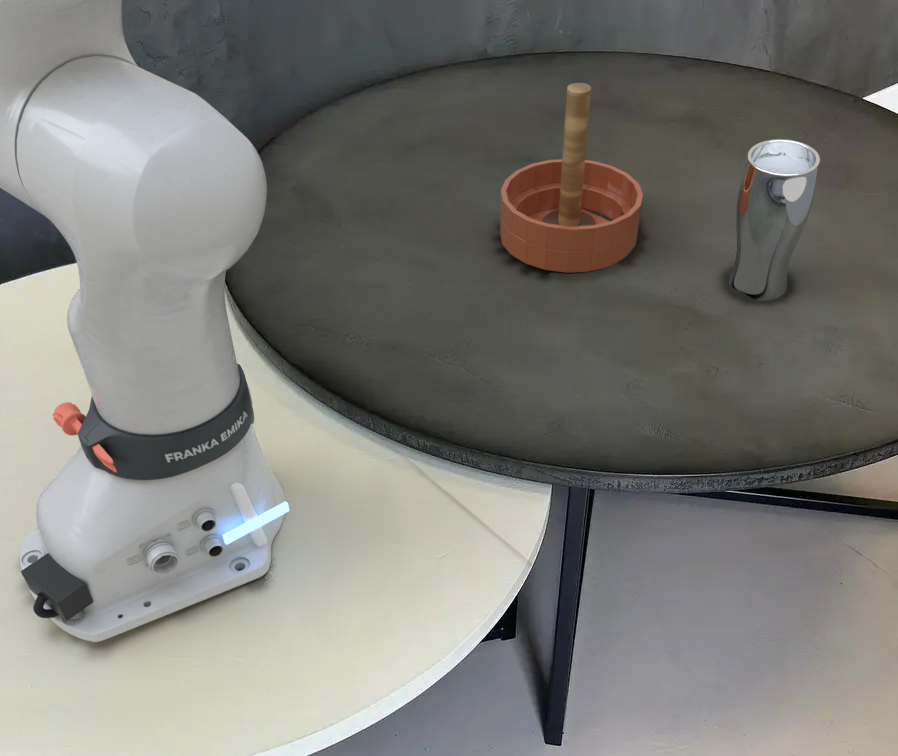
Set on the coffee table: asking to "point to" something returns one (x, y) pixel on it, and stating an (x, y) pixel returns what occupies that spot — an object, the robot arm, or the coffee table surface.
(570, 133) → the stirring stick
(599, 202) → the bowl
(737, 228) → the beer glass
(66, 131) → the robot arm
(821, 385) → the coffee table surface
